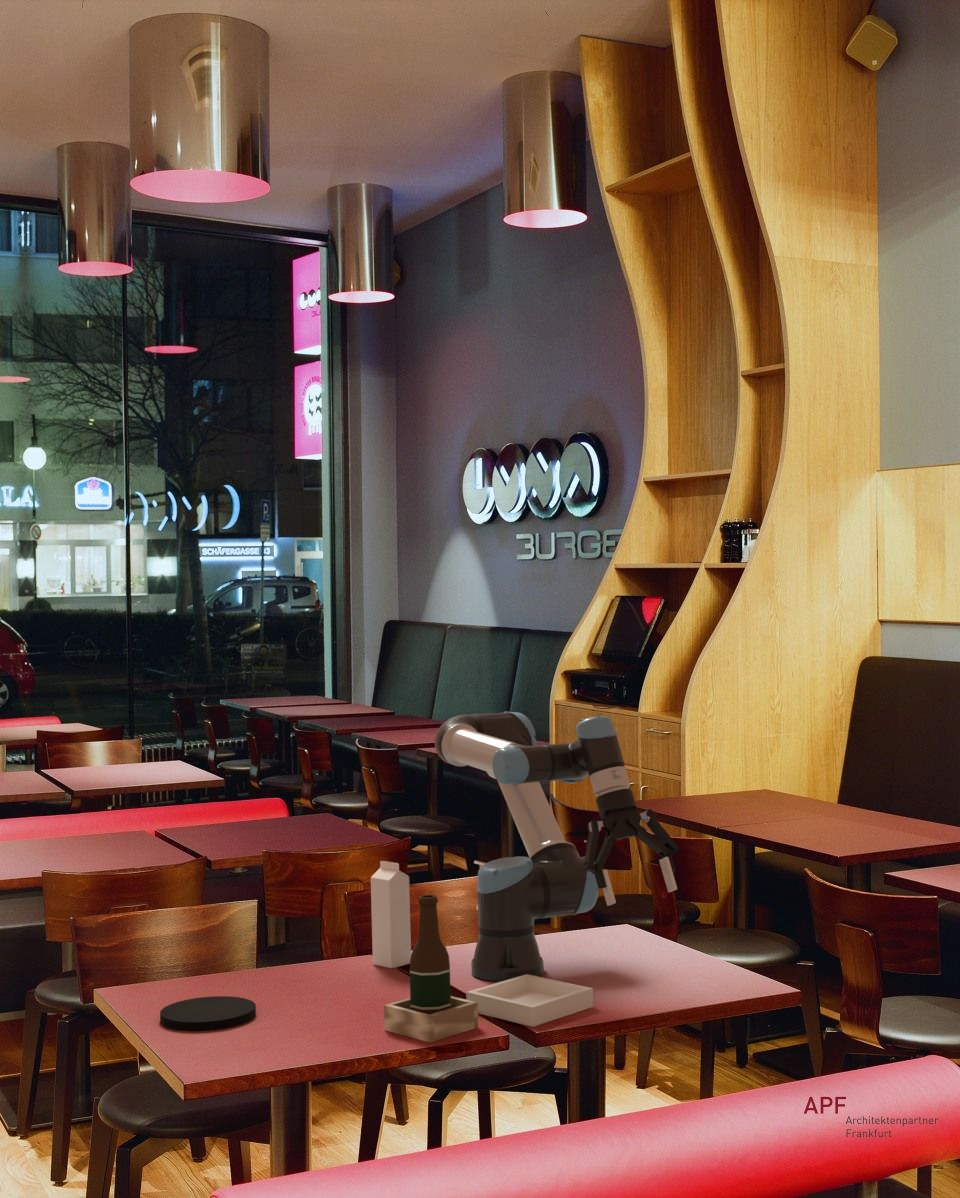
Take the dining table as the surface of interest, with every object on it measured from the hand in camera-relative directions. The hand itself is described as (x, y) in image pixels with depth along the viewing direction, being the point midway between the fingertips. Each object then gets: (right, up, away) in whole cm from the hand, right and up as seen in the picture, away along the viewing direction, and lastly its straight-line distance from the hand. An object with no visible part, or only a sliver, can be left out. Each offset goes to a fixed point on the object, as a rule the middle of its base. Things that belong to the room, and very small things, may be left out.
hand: (642, 897), depth 274 cm
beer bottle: (-40, -20, -19) cm, 49 cm away
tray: (-22, -19, -8) cm, 30 cm away
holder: (-40, -20, -19) cm, 49 cm away
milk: (-51, -21, +30) cm, 63 cm away
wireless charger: (-83, -22, -8) cm, 86 cm away
